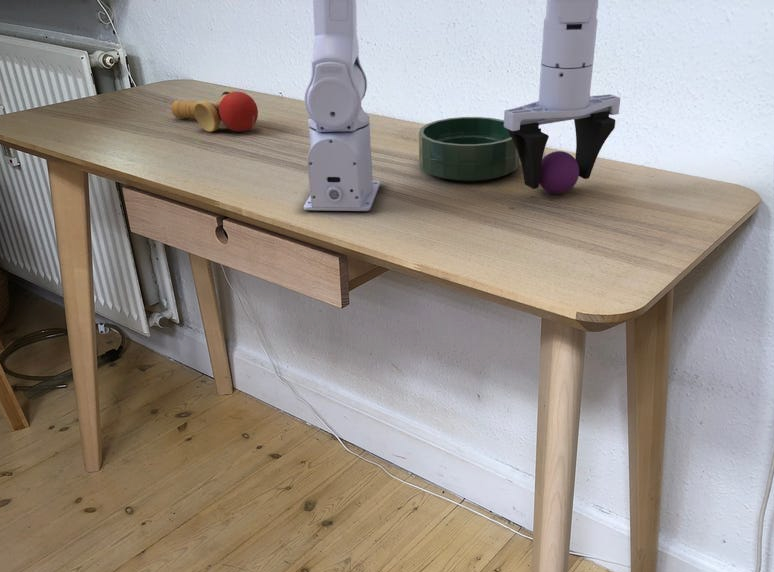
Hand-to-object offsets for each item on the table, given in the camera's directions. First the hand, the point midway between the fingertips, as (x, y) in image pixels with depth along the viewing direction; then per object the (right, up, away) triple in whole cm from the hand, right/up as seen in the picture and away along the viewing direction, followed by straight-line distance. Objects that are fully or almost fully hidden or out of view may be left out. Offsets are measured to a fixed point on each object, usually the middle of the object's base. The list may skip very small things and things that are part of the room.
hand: (557, 181), depth 92 cm
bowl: (-10, +4, +10) cm, 14 cm away
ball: (0, +1, -1) cm, 1 cm away
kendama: (-49, +16, +31) cm, 60 cm away
